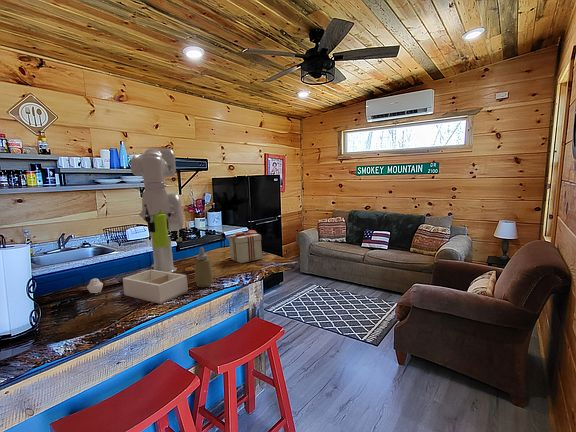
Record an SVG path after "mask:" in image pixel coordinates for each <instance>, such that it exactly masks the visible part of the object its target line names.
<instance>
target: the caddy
mask: <svg viewBox="0 0 576 432" xmlns="http://www.w3.org/2000/svg"><path fill="white" fill-rule="evenodd" d="M187 276H188V275H186V274H183V273H175V272H172V273H169V272H163V271H157V270H154V269H148V270H145V271H142V272H139V273H135V274H132V275H128V276H126V277H123V278H122V285H123V293H124V296H127V297H132V298H136V299H140V300H143V301H147V302H150V303H151V302H152V303H156V304H160V305H161V304H163V303H166V302H168V301H171V300H172V299H173V300H174V299H175V298H177V297H180V296H182V295H184V294H186V293H188V292H189V288H188V277H187Z"/></svg>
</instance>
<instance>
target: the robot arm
mask: <svg viewBox="0 0 576 432" xmlns="http://www.w3.org/2000/svg"><path fill="white" fill-rule="evenodd" d="M129 165H130V171H131V173H132V174H133V175H134V176H136V177H142V178H143V184H144V185H143V186H144V191H142V194H141V196H142V197H141V209H142V210H141V212H140V213H139V214H138V215H139V217H141V218H142V219H143V220H144V221H145V222H146V223H147V230H148V232H149V233H150V239H151V247H152V256H153V257H152V259H153V264H151V268H153V270H157V271H163V272H169V273H175V272H176V271H177V269H178V268H177V267H176V266H174V259H173V257H174V256H173V251H172V250H173V249H172V240H171V237H170V236H169V235H168V241H169V245H168V246H165V247H154V245H153V235H152V232H155V225H154V222H153V219H154V215H158V214H159V211H160V210H161V211H162V214H166V220H167V231H168V232H174V231H179V230H183V227H184V216H183V210H182V209H183V207H182V202H181V201H182V200H181V197H180V196H179V195H178V194H176V193H167V190H166V187H167V184H166V183H165V179H164V177H165V178H166V177H167V178H169V177H174V176H175V174H176V171H177V169H176V168H177V167H176V166H177V165H176V155H175V152H174V151H173V150H172V149H171V148H167V147H166V148H160V147H159V148H155V147H154V148H148V149H146V150H145V151H144V153H141V154H136V155H134V156H132V158H131V160H130V164H129Z"/></svg>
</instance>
